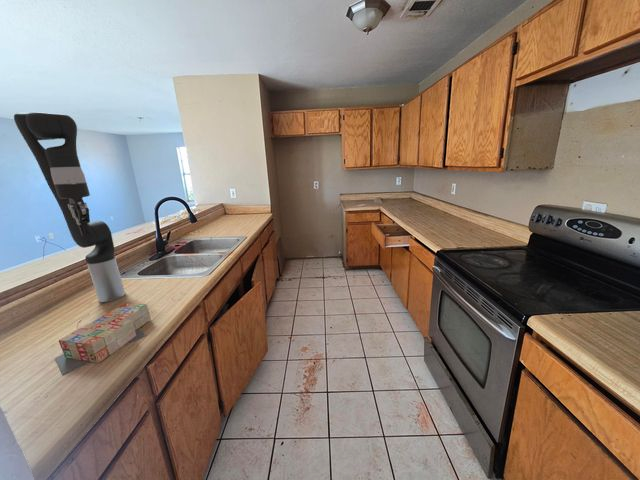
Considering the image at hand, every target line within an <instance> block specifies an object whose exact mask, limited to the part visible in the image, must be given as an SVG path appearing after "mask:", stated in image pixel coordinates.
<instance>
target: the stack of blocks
mask: <svg viewBox="0 0 640 480" xmlns="http://www.w3.org/2000/svg"><path fill="white" fill-rule="evenodd" d="M149 321H151V314H150V311H149V307H148V304H145V303H124V304H123V305H120V306H119V307H116V308H114V309H113V310H111V311H109V312H108V313H106V314H104V315H102V316H101V317H99V318H97V319H96V320H94V321H92V322H90V323H88V324H86V325H84V326H82V327H80V328H78V329H76V330H74V331H73V332H71V333H70V334H67V335H66V336H64V337H61V338H60V339H58V342H59V346H60V348H61V350H62V353H63V354H64V356H65V358H68V359H76V360H82V361H88V362H89V363H97V364H99V363H101V362H102V361H103V360H105V359H106V358H108V357H109V356H111V355H112V354H114V353H115V352H117V350H119V349H121V348H123V347H124V346H123V345H125V344H126V343H127V342H128V341H130V340H131V339H132V338H134V337H135V336H136V332H135V330H137V329H141V327H142V326H144V325H145V324H146V323H148V322H149ZM122 346H123V347H122ZM125 346H126V345H125Z"/></svg>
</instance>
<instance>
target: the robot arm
mask: <svg viewBox="0 0 640 480" xmlns="http://www.w3.org/2000/svg"><path fill="white" fill-rule="evenodd" d="M13 120H14V123H15V125H16V127H17V129H18V130H19V133H20V134H21V136H22V138H23V140H24V141H25V143H26V145H27V146H28V148H29V150H30V151H31V153H32V155H33V156H34V159H35V160H36V162H37V164H38V166H39V169H40V171H41V173H42V175H43V177H44V179H45V181H46V184H47V186H48V188H49V189H50V191H51V193H52V195H53V196H54V198H55V200H56V202H57V204H58V206H59V208H60V211H61V213H62V214H63V218H64V219H65V220H64V221H65V222H66V225H67V228H68V230H69V233H70V235H71V238H72V239H73V241H74V243H75V244H76V245H77V246H79V247H80V248H83V249H84V248H89V247H93V246H95V247H94V248H93V250H91V251H90V252H89V253H88V254H86V256H85V257H84V258H85V262H86V265H87V268H88V271H89V274H90V276H91V277H90V278H91V280H92V284H93V287H94V290H95V293H96V296H97V300H98V302H99V303H110V302H114V301H116V300H119V299H121V298H123V297H124V296H125V295H126V291H125V288H124V284H123V280H122V276H121V273H120V270H119V267H118V264H117V263H118V262H117V260H116V256H115V243H114V240H113V234H112V232H111V229H110V227H109V225H108V224H107V223H106V222H104V221H102V220H95V221H91V220H90V209H89V208H88V203H87V202H84V199H83V198H86V197H87V198H88V197H90V195H91V193H90V190H89V186H88V183H87V180H86V177H85V174H84V171H83V169H82V167H81V163H80V160H79V156H78V152H77V150H78V149H77V136H78V125H77V123H76V121H75V120H74V118H72V117H71V116H70V115H68V114H64V113H53V112H42V111H40V112H39V111H31V112H17V113H15V114H14V115H13ZM57 139H58V140H59V139H61V140H64V143H63V144H61V145H56V146H50V147H46V148H45V147H44V146H43V145H42V144H41V143H40V142H39V141H49V140H51V141H53V140H57Z"/></svg>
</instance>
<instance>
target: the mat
mask: <svg viewBox="0 0 640 480" xmlns="http://www.w3.org/2000/svg"><path fill="white" fill-rule="evenodd" d="M135 332H136V336H135V337H134V338H132V339H131V340H130V341H128V342H127V343H126V344H125V345H123V346H122V347H121V348H123V347H125V346H126V345H129V344H131V343H133V342H135V341H137V340H139V339H142V338H143V337H146V336H147V334H146V333H144V332H143V331H142V330H141V328H138V329H137V330H135ZM54 360H55V361H56V364H57V366H58V368H59V370H60V371H61V375H63V376H64V375H66V374H68V373H70V372H73V371H74V370H77V369H79V368H81V367H83V366H85V365H88V364H89V363H90V362H88V361H82V360H76V359H68V358H65V356H64V353H63V354H61V355H58V356H56V357H54Z"/></svg>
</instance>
